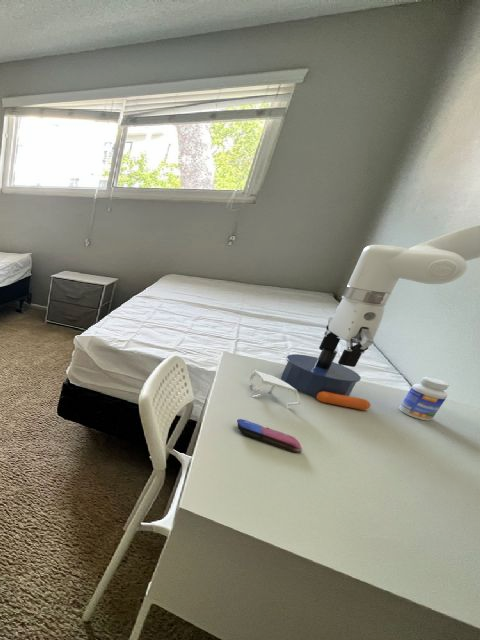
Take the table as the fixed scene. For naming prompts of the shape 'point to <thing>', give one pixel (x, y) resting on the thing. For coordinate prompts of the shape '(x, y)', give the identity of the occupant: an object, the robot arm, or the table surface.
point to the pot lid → (324, 366)
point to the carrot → (343, 400)
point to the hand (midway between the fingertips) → (335, 357)
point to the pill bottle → (424, 398)
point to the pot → (313, 382)
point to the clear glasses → (274, 382)
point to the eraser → (269, 436)
